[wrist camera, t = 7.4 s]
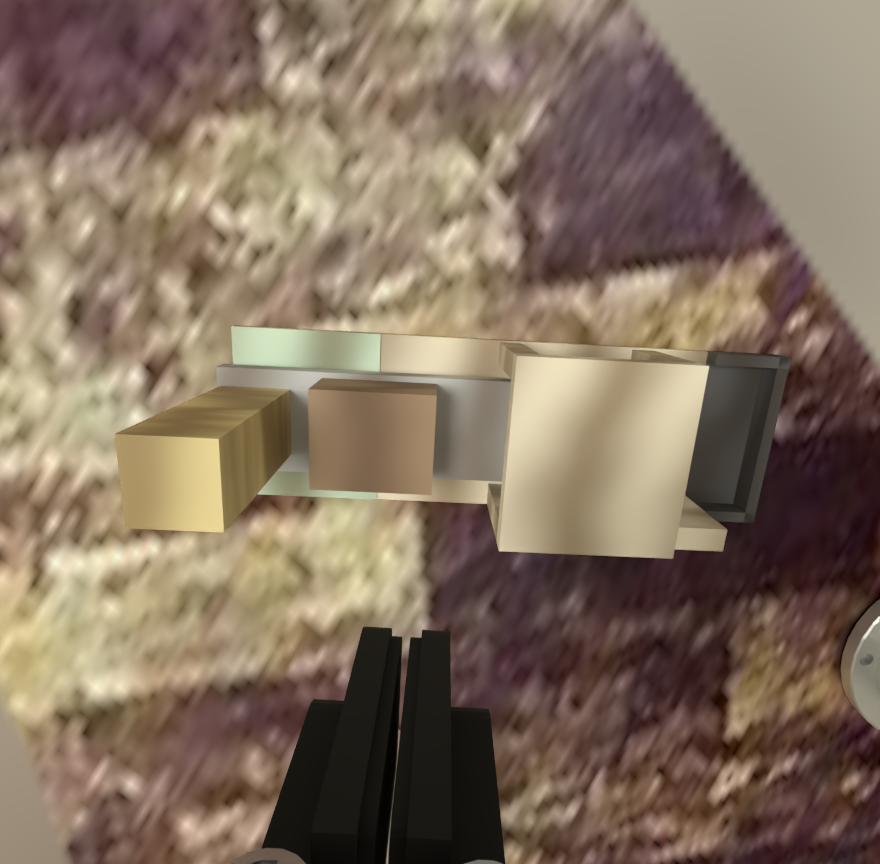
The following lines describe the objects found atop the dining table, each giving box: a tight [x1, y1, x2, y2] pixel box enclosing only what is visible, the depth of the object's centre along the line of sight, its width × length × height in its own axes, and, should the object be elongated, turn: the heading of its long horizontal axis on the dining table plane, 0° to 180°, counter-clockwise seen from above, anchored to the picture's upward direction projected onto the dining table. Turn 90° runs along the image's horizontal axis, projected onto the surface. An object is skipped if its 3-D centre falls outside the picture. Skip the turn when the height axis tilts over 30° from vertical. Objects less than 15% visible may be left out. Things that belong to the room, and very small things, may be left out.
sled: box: [115, 364, 511, 532], centre depth 24 cm, size 16×6×11 cm, turn 87°
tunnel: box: [231, 325, 791, 559], centre depth 27 cm, size 30×10×6 cm, turn 87°
